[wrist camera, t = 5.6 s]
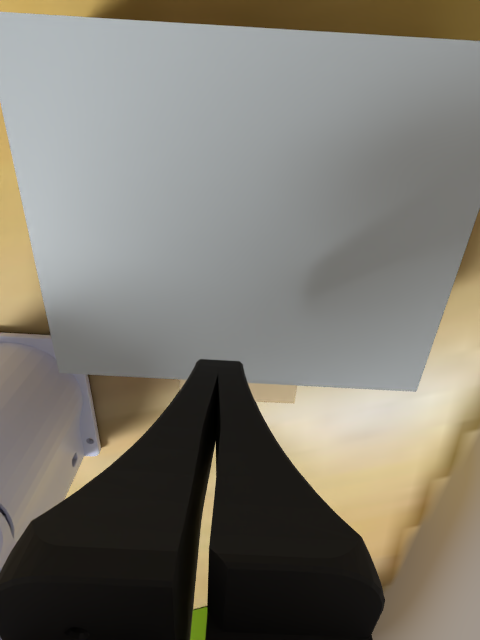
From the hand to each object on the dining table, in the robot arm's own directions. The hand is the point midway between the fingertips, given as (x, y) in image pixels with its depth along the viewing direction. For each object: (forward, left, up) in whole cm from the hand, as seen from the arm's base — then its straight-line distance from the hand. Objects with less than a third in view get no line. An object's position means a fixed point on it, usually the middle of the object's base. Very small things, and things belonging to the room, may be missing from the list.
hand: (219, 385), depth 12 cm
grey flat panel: (+3, -1, -4) cm, 5 cm away
